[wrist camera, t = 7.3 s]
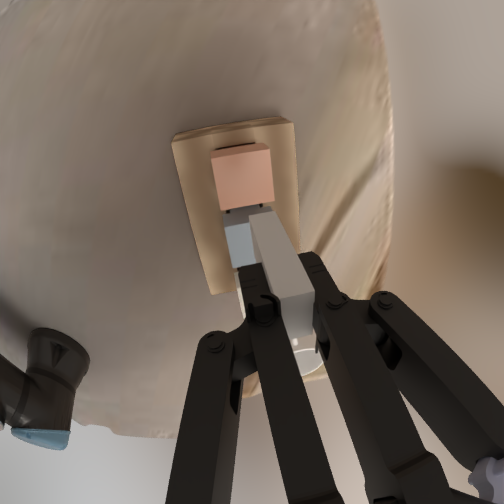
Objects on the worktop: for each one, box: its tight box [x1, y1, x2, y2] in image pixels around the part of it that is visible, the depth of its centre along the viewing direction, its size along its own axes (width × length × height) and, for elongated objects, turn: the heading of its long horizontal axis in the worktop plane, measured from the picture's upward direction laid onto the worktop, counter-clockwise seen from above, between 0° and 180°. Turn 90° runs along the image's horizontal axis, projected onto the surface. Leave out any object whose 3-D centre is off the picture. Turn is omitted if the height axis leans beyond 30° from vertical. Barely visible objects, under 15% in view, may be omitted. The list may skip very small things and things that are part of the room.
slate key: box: [222, 204, 273, 268], centre depth 29 cm, size 5×5×7 cm
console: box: [171, 116, 300, 295], centre depth 32 cm, size 12×20×5 cm, turn 7°
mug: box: [290, 328, 323, 376], centre depth 41 cm, size 12×8×12 cm
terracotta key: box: [210, 143, 275, 211], centre depth 25 cm, size 5×5×7 cm
